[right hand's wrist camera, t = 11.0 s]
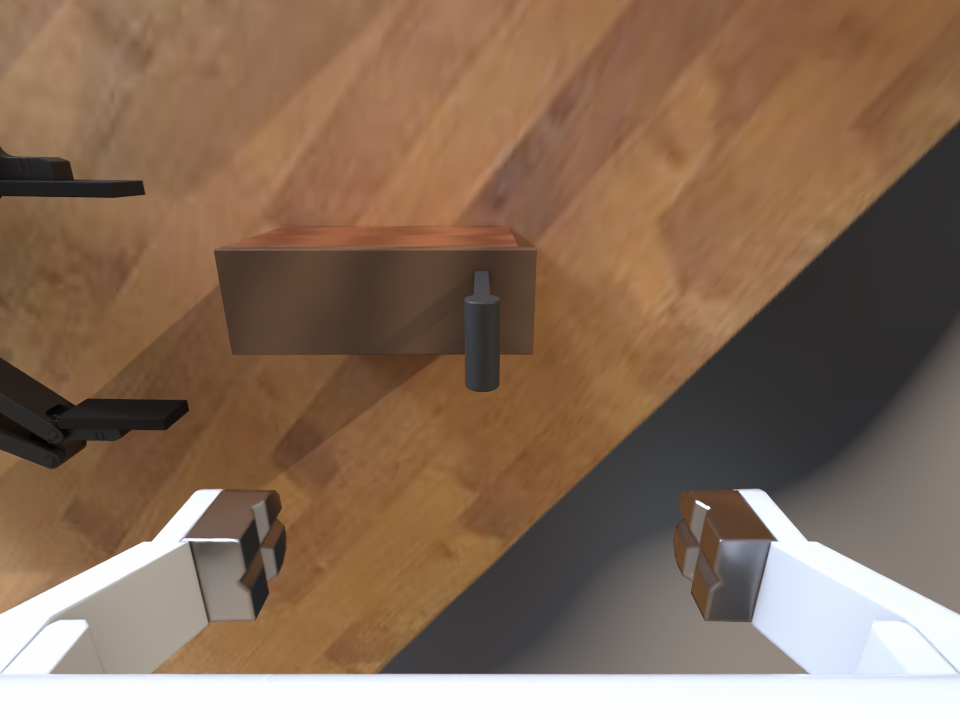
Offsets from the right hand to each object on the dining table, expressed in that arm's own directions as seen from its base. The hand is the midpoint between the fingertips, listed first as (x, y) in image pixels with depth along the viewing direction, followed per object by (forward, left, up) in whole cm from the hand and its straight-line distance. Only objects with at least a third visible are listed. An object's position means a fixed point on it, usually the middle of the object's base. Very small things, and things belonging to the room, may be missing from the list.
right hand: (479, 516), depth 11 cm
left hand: (-6, -18, -21) cm, 28 cm away
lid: (-2, -5, -18) cm, 19 cm away
